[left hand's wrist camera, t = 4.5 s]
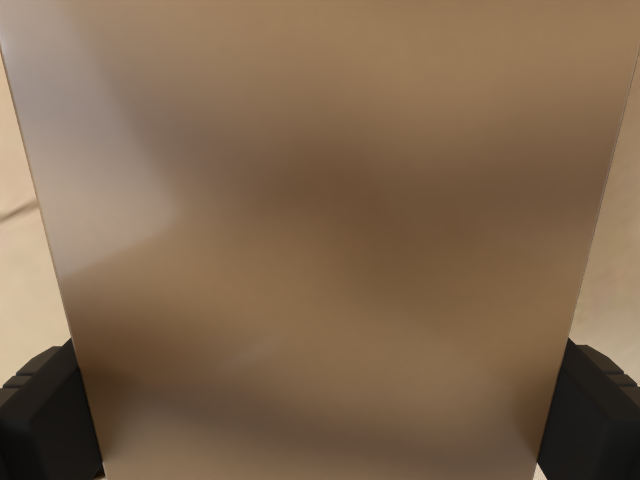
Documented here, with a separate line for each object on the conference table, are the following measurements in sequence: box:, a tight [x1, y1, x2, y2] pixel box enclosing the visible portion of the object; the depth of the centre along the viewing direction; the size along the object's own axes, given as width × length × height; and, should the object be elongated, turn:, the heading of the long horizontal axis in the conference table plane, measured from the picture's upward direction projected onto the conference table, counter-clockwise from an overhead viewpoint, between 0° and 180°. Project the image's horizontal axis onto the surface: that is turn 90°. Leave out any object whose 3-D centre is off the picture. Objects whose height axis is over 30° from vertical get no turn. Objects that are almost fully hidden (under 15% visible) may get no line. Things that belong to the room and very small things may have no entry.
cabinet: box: [0, 0, 640, 480], centre depth 12 cm, size 19×10×11 cm, turn 0°
